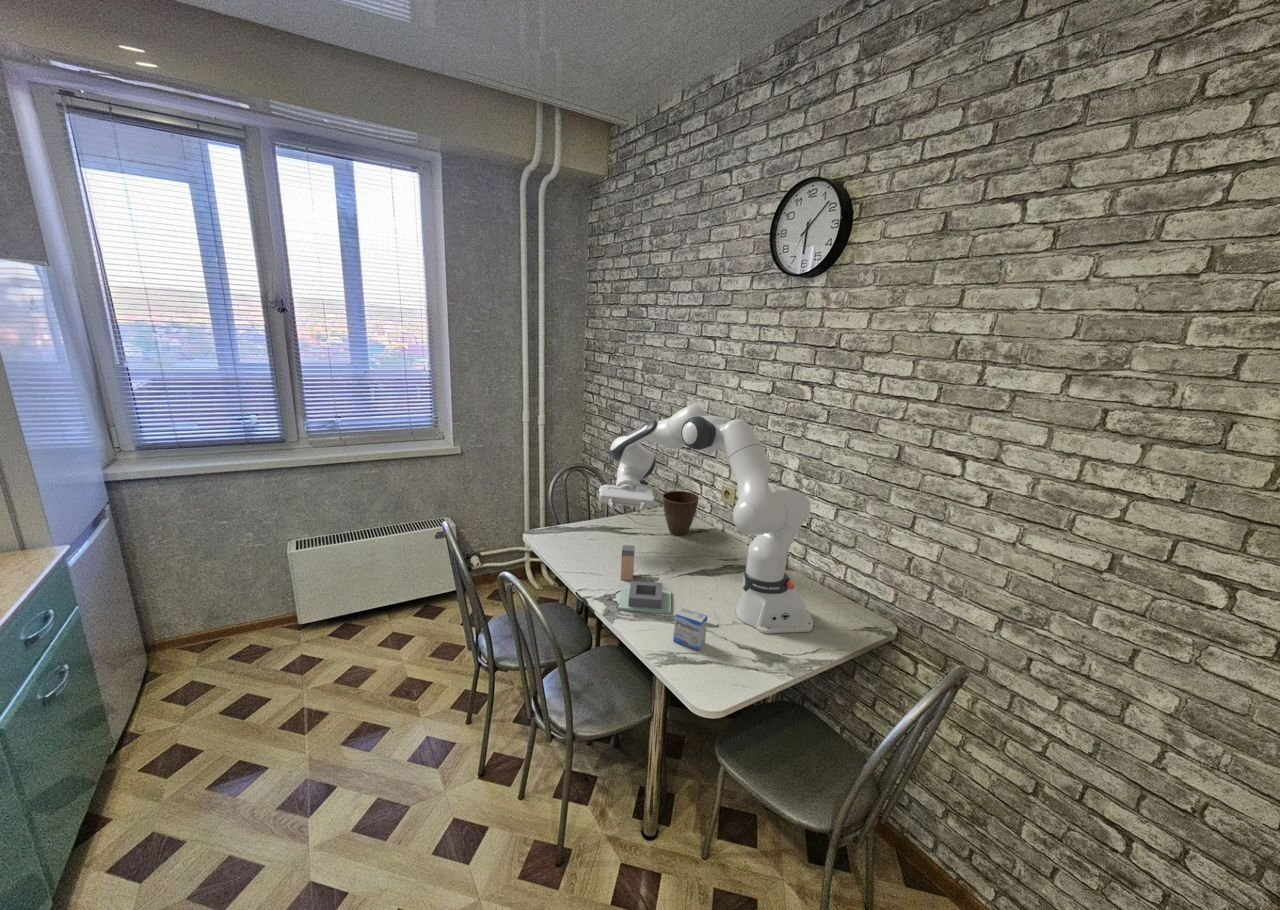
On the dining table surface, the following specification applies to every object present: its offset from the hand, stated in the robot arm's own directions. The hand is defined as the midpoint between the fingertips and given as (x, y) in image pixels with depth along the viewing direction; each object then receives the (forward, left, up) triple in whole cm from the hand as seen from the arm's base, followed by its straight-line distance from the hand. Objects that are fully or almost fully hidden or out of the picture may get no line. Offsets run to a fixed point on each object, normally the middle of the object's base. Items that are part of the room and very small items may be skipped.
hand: (625, 510), depth 173 cm
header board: (-9, +26, -20) cm, 34 cm away
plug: (-2, +12, -20) cm, 23 cm away
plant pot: (-20, -29, -20) cm, 41 cm away
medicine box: (-22, +45, -20) cm, 54 cm away
